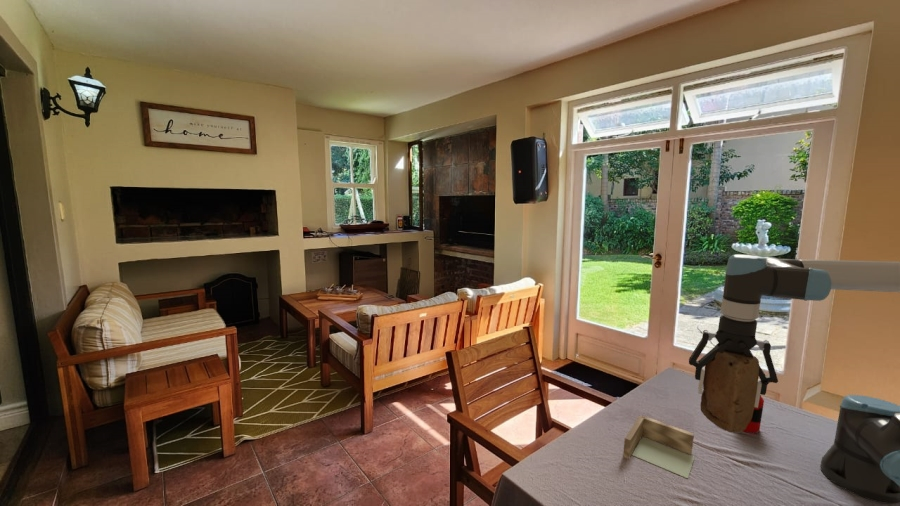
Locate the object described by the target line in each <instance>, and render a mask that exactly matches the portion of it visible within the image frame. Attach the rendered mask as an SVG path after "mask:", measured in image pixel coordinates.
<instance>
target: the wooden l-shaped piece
mask: <svg viewBox="0 0 900 506" xmlns="http://www.w3.org/2000/svg"><path fill="white" fill-rule="evenodd" d="M642 437H644V438H647V439H649V440H652V441H655V442H657V443H660V444H662V445H665V446H668V447H670V448H673V449H675V450H678V451H680V452H683V453H686V454H688V455H691V456H692V453H693V447H694V446H693V445H694V437H695V433H694V432H691V431H688V430H685V429H683V428H682V429H681V428H680V427H677V426H673V425H670V424H668V423H666V422H662V421H659V420H656V419H654V418H651V417H648V416H645V415H642V416H641V415H638V416H637V418H636V420H635V421H634V422H633V425H632V426H631V428H630V430H628V433H627V434H626V435H625V437H624V443H623V453H622V458H624V459H627V460H629V459H630V458H631V456H632V454H633V452H634V450H635V449H636V447H637V445H638V443H639V442H640V440H641V438H642Z"/></svg>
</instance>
